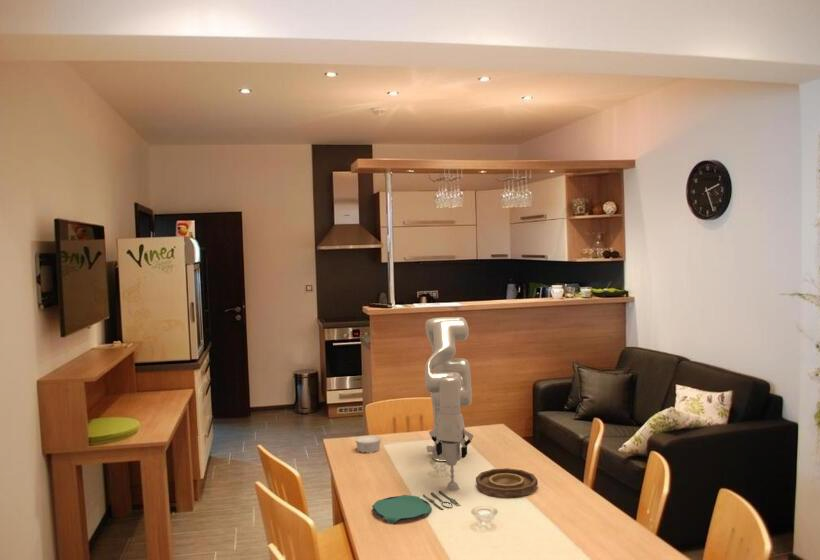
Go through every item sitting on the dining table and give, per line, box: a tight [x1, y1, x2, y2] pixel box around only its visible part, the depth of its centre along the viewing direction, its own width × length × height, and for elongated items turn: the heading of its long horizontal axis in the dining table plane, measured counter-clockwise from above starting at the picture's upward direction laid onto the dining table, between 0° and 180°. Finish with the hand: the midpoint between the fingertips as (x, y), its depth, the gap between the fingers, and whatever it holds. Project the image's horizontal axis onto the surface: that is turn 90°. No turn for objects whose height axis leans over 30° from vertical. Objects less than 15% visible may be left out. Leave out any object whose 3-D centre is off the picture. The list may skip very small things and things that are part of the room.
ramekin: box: [355, 434, 382, 453], centre depth 288 cm, size 11×11×5 cm
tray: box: [475, 467, 539, 499], centre depth 238 cm, size 22×22×3 cm
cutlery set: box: [372, 490, 462, 524], centre depth 221 cm, size 20×30×2 cm, turn 116°
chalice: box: [442, 441, 461, 492], centre depth 238 cm, size 7×7×18 cm
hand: (451, 455), depth 237 cm, fingers open, 9 cm apart
